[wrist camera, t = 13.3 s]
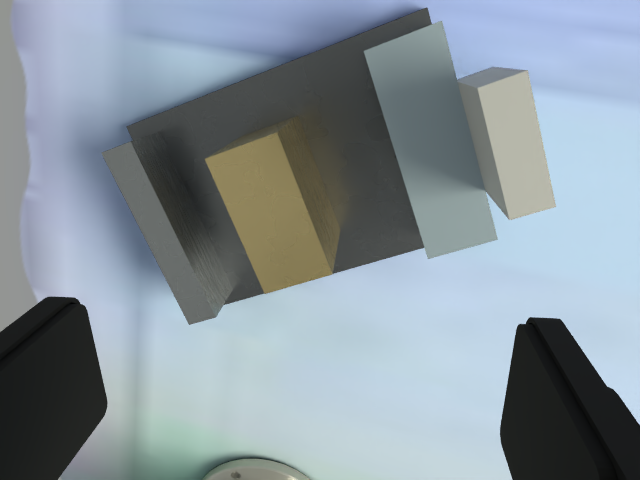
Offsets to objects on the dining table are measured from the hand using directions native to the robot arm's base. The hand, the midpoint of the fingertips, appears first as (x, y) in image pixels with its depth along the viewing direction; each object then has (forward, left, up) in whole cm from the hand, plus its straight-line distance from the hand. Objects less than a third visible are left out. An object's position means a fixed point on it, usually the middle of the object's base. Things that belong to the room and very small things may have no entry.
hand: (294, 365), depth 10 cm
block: (0, +4, -22) cm, 22 cm away
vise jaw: (0, -6, -21) cm, 22 cm away
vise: (0, +3, -23) cm, 23 cm away
